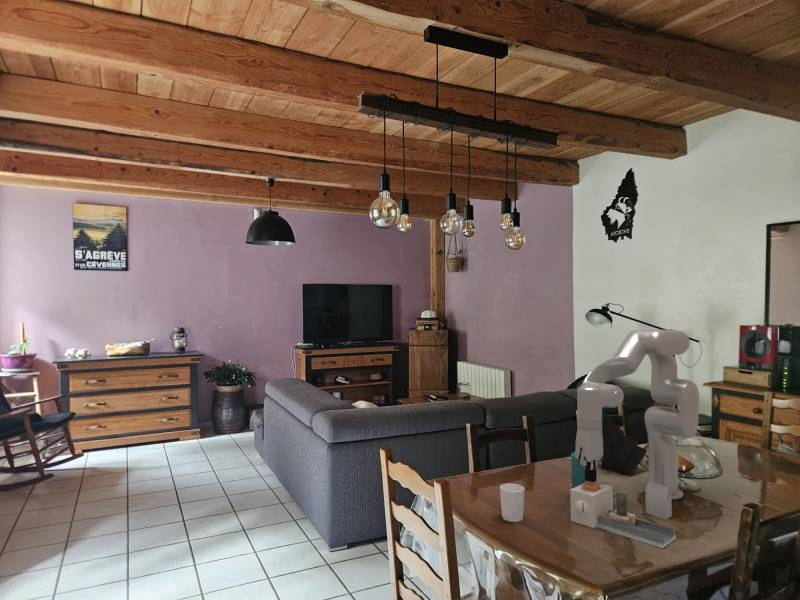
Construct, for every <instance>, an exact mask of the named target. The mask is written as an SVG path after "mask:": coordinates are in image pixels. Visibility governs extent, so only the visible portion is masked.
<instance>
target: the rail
mask: <svg viewBox="0 0 800 600" xmlns="http://www.w3.org/2000/svg"><path fill="white" fill-rule="evenodd" d="M611 512H612V510H608V517H607V518H606V517H603V516H600V515H599V516H597V518H598V523H596V525H597V527H596V528H598V529H602V530H603V531H604V530H605V531H607V532H611V533H614V534H616V535H619V536H622V537H626V538H628V537H629V538H628V539H632V540H634V541H637V542H640V543H643V542H644V543H643V544H646V543H647V545H649V544H650V546H652V545H654V546H653V547H655V546H657V547H656V548H658V547H660V548H659V549H661V548H663V549H665V548H667V545H668V544H669V545H670V544H672V543H673V542H674V541H676V540H677V535H675V533H676V532H675V528H673V527H669V526H665V525H662V524H658V523H656V522H652V521H649V520H645V519H643V518H640V517H636V516H635V525H634V526H632V525H629V524H625V523H622V522H619V521H616V520H613V519H609V513H611ZM675 539H676V540H675ZM671 542H672V543H671ZM669 545H668V546H669ZM664 547H665V548H664Z"/></svg>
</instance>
